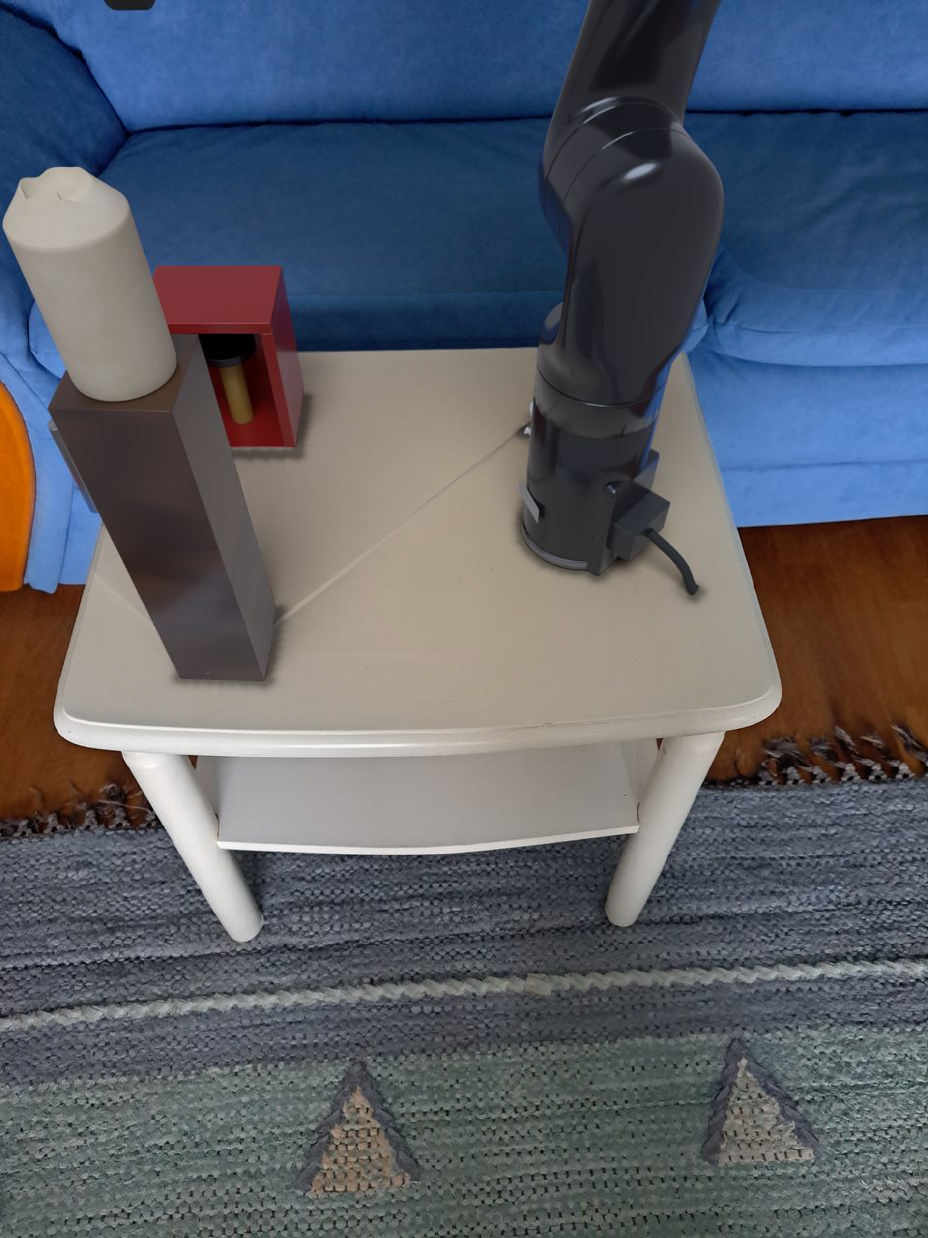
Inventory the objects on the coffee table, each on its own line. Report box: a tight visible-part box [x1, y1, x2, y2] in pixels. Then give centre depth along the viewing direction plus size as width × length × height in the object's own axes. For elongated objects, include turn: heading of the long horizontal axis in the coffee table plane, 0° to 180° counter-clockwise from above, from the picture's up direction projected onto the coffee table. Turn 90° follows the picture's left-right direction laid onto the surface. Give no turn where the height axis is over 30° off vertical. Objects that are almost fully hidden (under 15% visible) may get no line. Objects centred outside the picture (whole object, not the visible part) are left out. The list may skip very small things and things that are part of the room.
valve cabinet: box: [152, 264, 305, 448], centre depth 76 cm, size 8×10×14 cm
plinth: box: [47, 334, 277, 682], centre depth 57 cm, size 6×6×26 cm
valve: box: [198, 334, 256, 424], centre depth 77 cm, size 5×5×8 cm
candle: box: [2, 166, 177, 401], centre depth 42 cm, size 6×6×10 cm
